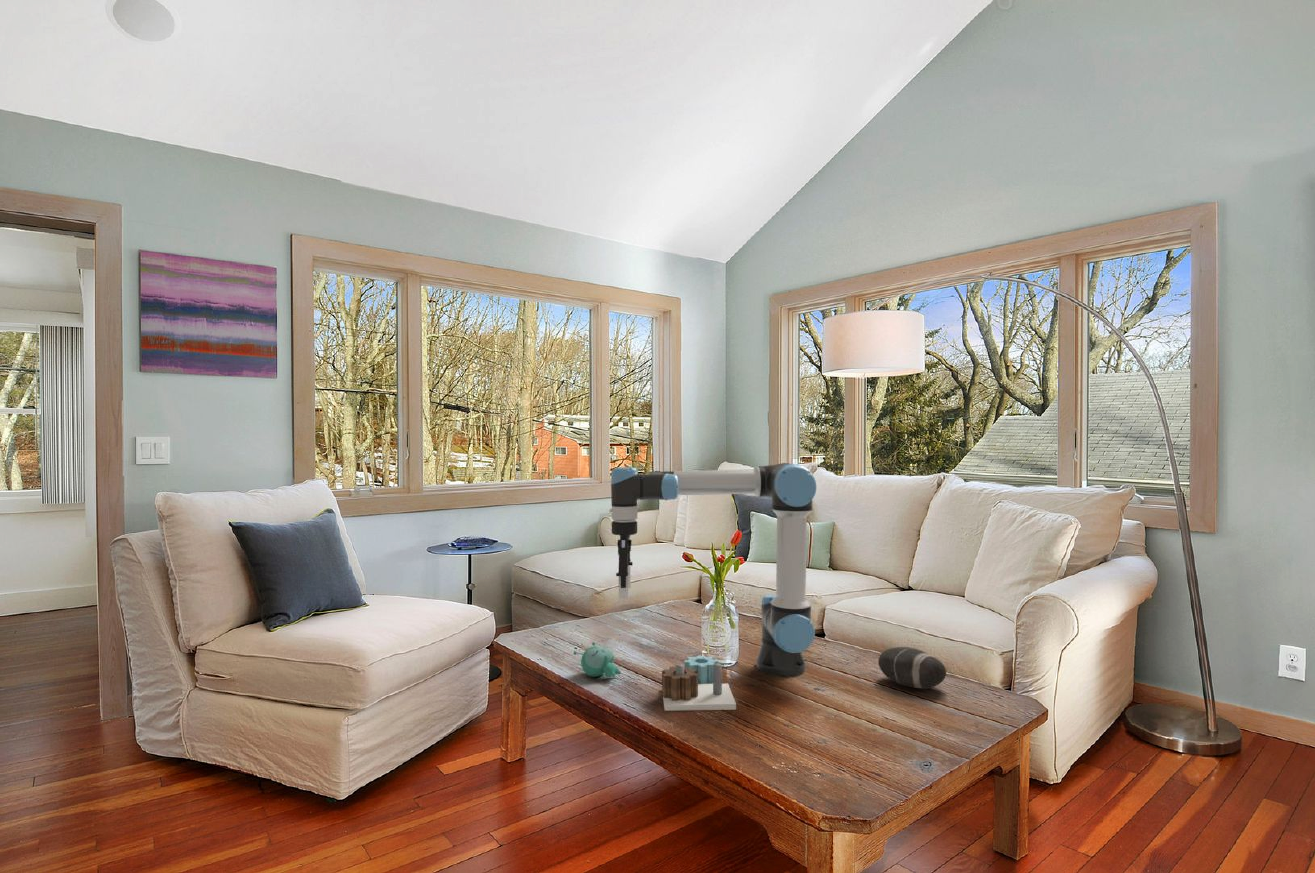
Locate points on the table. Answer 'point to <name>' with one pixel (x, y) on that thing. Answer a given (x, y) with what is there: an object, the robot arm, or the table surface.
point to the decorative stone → (912, 667)
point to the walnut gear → (679, 684)
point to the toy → (598, 661)
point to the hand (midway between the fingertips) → (624, 593)
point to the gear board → (705, 694)
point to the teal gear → (702, 667)
